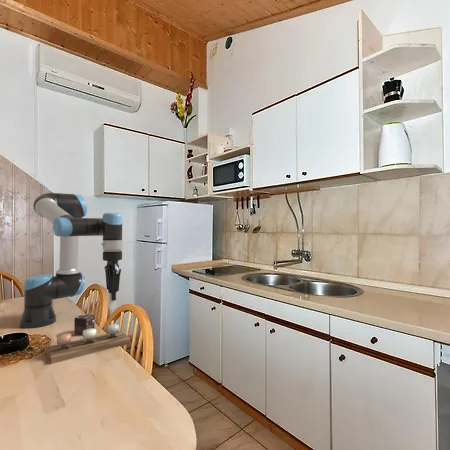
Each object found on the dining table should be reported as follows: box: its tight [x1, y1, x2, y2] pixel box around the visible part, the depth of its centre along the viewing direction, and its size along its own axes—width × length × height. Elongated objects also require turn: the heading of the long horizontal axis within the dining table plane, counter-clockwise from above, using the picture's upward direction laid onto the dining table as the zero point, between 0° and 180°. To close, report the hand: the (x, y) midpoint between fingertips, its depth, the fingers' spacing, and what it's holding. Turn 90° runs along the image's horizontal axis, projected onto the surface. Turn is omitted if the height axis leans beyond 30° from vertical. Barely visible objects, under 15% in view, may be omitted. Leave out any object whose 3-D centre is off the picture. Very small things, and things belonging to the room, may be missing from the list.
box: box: [73, 313, 95, 336], centre depth 134 cm, size 6×6×7 cm
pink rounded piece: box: [56, 332, 72, 348], centre depth 111 cm, size 5×5×4 cm
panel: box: [45, 330, 131, 364], centre depth 117 cm, size 12×28×2 cm, turn 129°
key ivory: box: [82, 327, 97, 343], centre depth 117 cm, size 5×5×4 cm
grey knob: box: [106, 323, 120, 337], centre depth 122 cm, size 5×5×4 cm
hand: (112, 307), depth 122 cm, fingers closed
